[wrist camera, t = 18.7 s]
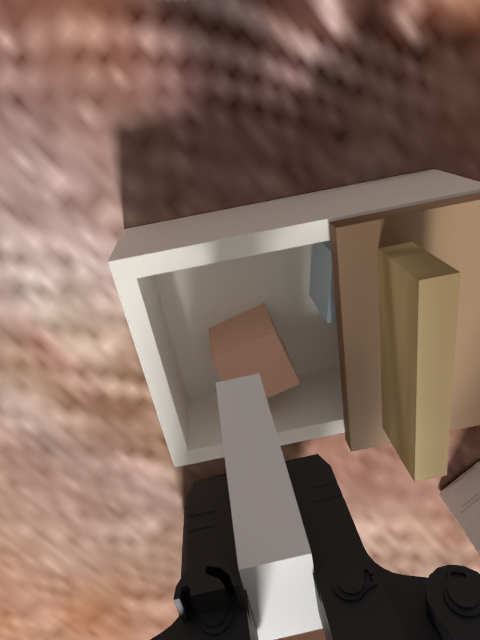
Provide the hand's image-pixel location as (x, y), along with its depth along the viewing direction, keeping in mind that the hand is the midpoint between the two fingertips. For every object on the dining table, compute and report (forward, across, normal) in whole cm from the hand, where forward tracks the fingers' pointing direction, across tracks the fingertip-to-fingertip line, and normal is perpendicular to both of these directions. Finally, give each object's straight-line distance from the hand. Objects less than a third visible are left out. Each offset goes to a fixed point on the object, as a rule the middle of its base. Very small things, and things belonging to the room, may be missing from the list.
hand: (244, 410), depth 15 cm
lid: (+3, +11, 0) cm, 12 cm away
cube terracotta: (+7, +1, -1) cm, 7 cm away
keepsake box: (+8, +3, 0) cm, 8 cm away
